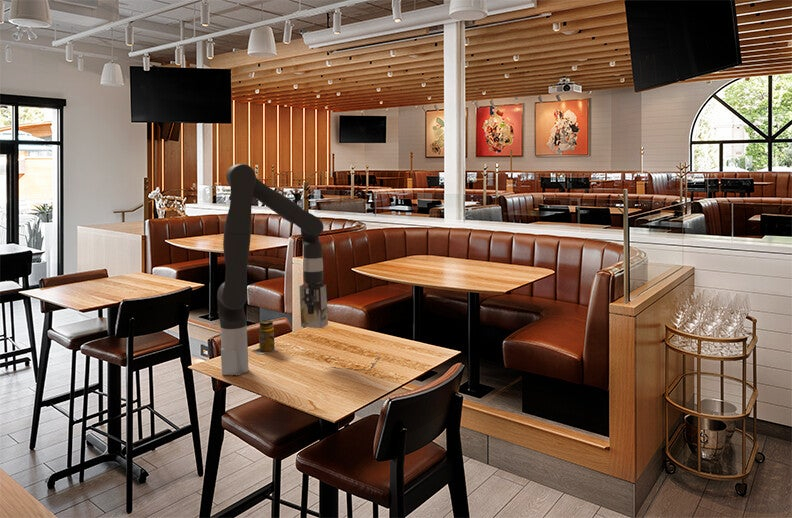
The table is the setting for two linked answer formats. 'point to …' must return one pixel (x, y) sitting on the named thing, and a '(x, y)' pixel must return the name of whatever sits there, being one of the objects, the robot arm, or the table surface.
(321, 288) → the coffee box
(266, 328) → the condiment
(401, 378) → the table surface
